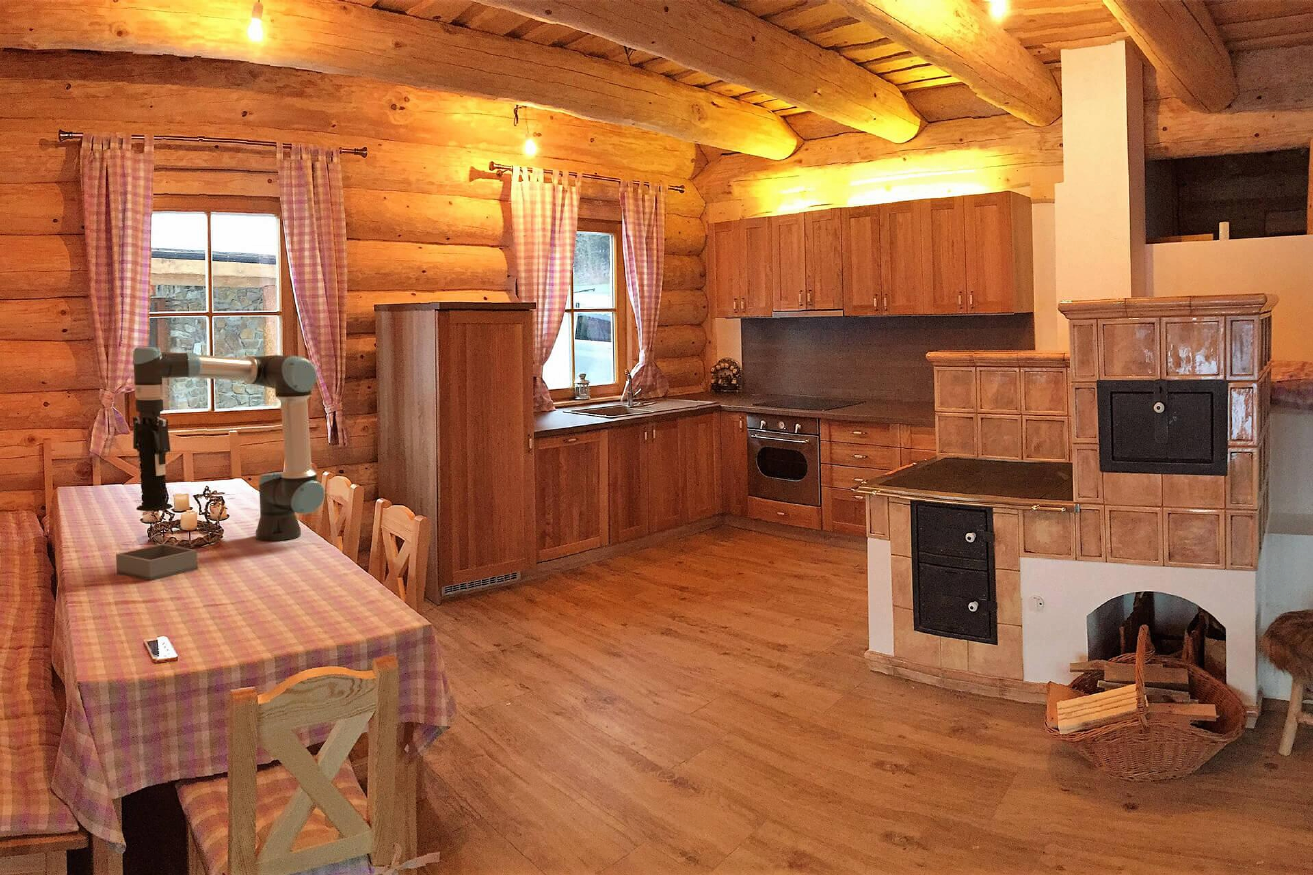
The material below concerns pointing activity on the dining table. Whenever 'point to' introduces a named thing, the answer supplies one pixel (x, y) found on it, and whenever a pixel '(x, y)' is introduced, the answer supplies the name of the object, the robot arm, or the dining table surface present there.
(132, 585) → the dining table surface
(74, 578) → the dining table surface
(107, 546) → the dining table surface
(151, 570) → the box
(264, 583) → the dining table surface
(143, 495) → the handle grip
